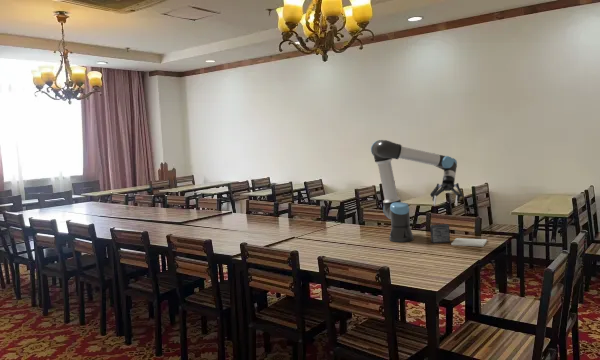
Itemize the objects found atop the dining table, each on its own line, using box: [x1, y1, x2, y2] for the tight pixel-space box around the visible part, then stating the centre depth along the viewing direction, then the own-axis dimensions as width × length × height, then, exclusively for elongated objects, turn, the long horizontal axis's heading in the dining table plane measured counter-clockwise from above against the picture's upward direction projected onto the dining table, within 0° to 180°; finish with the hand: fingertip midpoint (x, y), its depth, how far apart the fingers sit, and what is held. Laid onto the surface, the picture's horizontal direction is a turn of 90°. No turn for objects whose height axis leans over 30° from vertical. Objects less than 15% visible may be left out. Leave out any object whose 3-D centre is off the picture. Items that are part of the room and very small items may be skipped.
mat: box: [450, 237, 488, 248], centre depth 283 cm, size 18×14×1 cm
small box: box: [429, 223, 451, 244], centre depth 291 cm, size 11×6×10 cm, turn 84°
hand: (445, 205), depth 301 cm, fingers open, 13 cm apart
